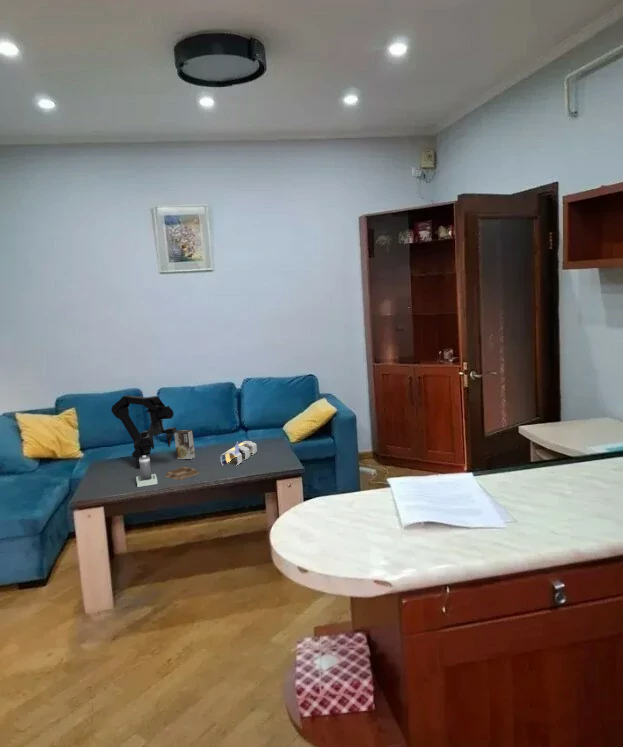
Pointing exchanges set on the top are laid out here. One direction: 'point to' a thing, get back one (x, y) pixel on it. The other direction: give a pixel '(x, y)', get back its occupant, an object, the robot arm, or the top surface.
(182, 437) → the coffee box
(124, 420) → the robot arm
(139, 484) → the white square tray
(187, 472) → the brown wooden tray
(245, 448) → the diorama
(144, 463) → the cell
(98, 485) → the top surface
